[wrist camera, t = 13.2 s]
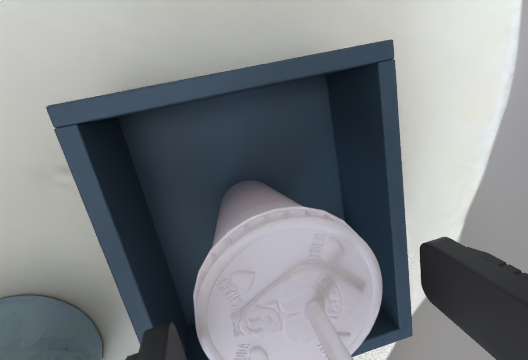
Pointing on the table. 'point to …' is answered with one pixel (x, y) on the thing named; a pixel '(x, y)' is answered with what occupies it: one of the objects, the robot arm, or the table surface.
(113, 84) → the table surface
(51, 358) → the blue-green cup
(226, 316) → the smoothie
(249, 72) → the basin
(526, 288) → the robot arm
